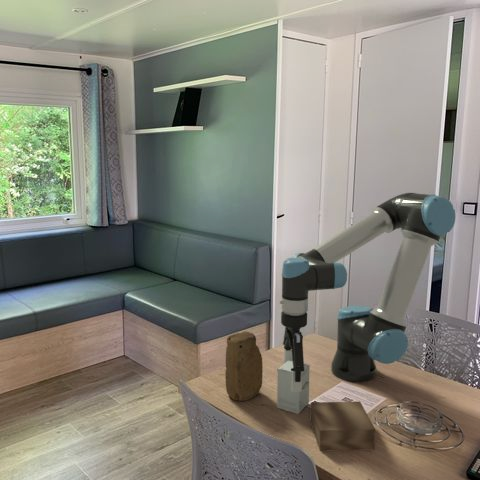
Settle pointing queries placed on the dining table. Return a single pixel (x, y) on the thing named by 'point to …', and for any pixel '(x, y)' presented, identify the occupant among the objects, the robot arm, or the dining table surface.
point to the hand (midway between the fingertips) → (292, 380)
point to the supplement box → (284, 390)
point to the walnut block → (342, 426)
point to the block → (243, 366)
